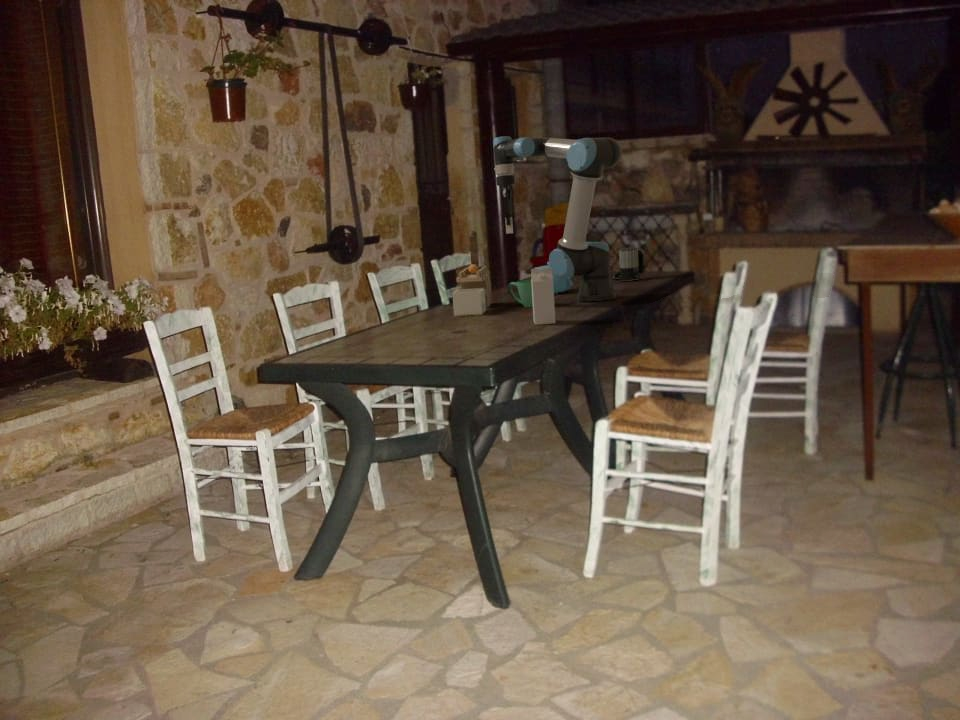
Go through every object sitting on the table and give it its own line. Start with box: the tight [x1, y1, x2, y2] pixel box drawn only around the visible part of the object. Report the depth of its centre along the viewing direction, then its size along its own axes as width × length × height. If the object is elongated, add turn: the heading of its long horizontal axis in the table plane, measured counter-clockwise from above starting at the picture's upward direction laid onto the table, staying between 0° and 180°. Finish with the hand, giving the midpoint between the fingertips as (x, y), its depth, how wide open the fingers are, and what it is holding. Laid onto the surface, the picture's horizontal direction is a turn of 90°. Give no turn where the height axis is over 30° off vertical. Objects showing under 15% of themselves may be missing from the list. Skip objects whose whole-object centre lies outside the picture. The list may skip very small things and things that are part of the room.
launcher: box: [455, 265, 493, 309], centre depth 382 cm, size 22×10×16 cm, turn 172°
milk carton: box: [530, 268, 556, 326], centre depth 332 cm, size 7×7×19 cm
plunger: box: [468, 230, 483, 273], centre depth 385 cm, size 4×5×17 cm
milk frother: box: [610, 246, 645, 280], centre depth 439 cm, size 14×16×15 cm
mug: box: [507, 279, 533, 308], centre depth 378 cm, size 15×10×10 cm
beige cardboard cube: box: [451, 288, 487, 317], centre depth 369 cm, size 11×11×9 cm
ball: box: [468, 264, 478, 274], centre depth 382 cm, size 4×4×4 cm
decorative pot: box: [533, 261, 574, 295], centre depth 412 cm, size 16×16×14 cm
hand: (509, 233), depth 395 cm, fingers closed
